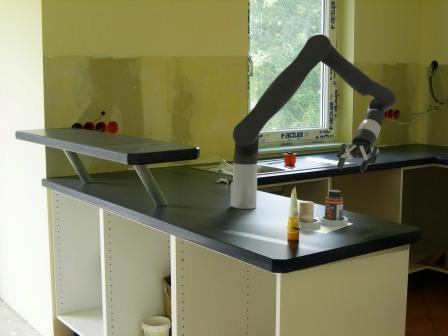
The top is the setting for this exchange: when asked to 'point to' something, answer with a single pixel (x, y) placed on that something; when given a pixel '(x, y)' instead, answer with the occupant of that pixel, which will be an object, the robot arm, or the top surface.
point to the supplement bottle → (334, 205)
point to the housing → (324, 224)
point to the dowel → (306, 211)
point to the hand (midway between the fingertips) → (350, 169)
